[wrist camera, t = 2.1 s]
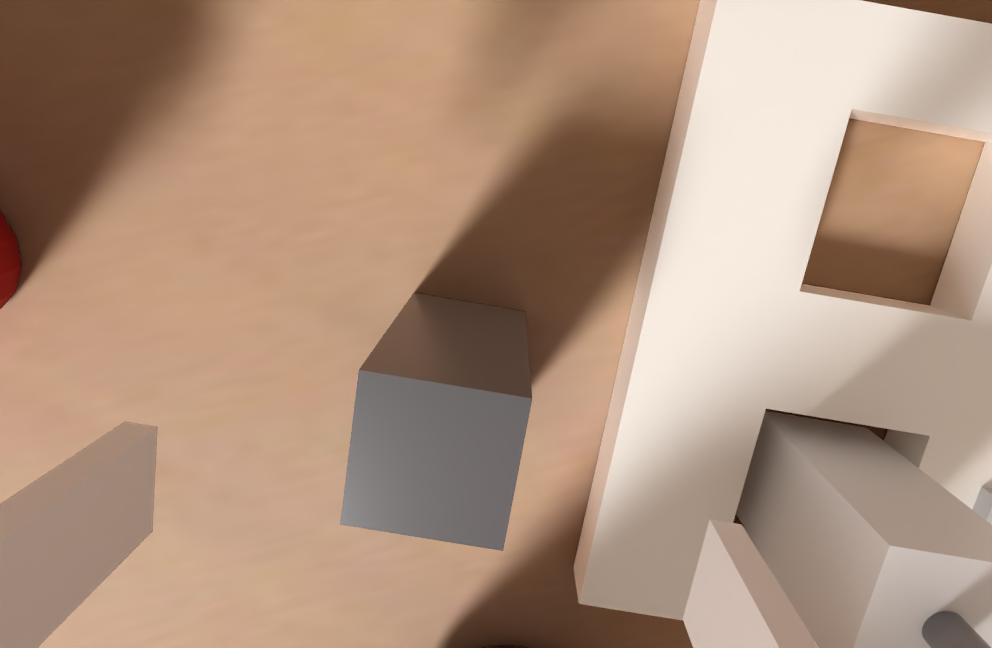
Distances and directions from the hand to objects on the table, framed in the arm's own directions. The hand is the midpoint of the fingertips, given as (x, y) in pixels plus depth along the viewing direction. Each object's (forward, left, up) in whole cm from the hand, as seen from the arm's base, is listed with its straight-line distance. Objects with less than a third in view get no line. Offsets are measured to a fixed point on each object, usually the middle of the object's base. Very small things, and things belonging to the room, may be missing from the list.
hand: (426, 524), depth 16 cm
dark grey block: (0, 0, -13) cm, 13 cm away
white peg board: (-3, +15, -13) cm, 20 cm away
